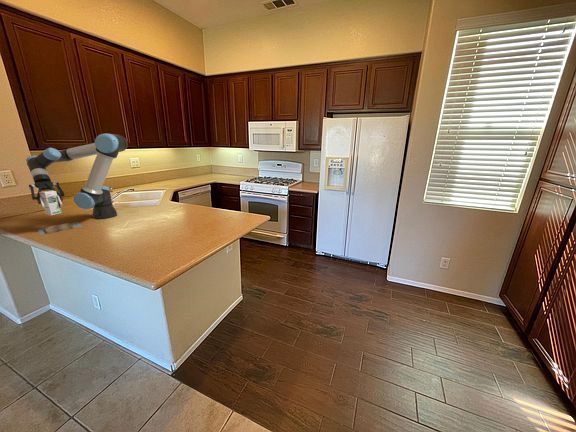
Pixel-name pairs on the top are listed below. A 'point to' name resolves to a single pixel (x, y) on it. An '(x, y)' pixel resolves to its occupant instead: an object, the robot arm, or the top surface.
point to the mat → (74, 225)
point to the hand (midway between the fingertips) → (52, 206)
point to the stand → (58, 228)
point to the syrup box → (51, 202)
